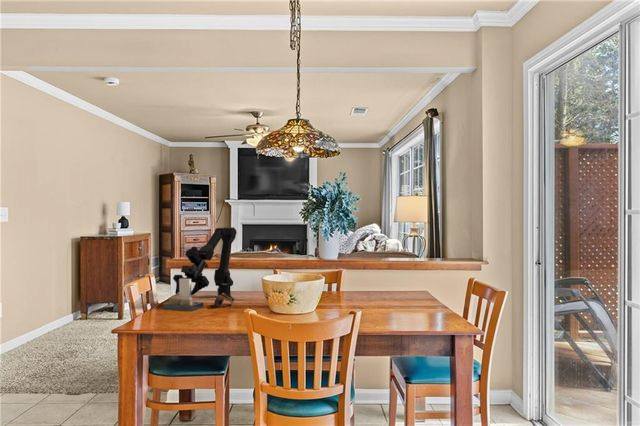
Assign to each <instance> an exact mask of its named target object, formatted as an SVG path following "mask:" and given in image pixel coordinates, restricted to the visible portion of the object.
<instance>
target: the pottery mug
mask: <svg viewBox="0 0 640 426" xmlns="http://www.w3.org/2000/svg"><path fill="white" fill-rule="evenodd" d="M224 301H227V302H229V303H230V307H234V305H235V298H234V297H233V296H232V295H231V296H229V295H227V294H225V293H222V294H221V295H219V296H216V298H215V299H214V303H213V307H214V308H218V309H220V308H221V307H222V304H223V302H224Z"/></svg>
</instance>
